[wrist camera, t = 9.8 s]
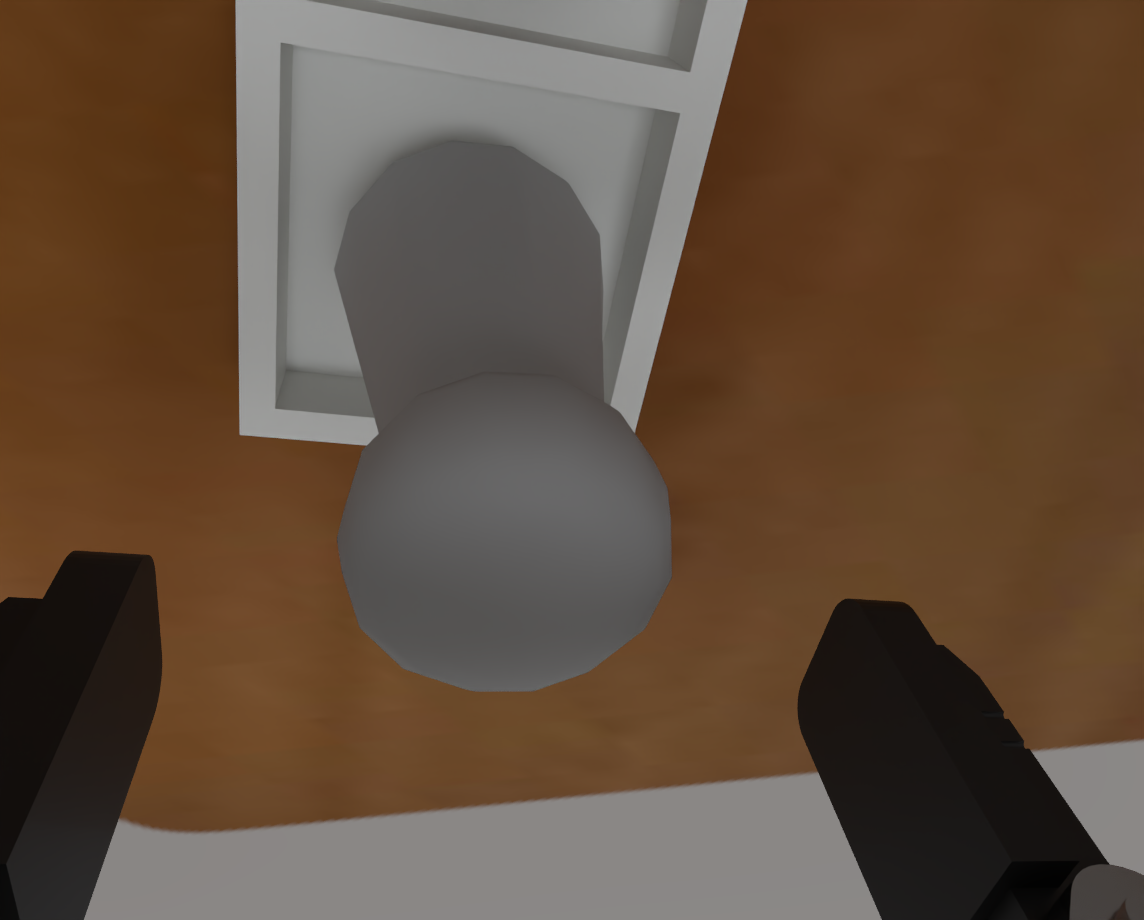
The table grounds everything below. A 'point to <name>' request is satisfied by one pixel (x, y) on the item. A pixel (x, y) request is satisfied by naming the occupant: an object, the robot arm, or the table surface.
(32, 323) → the table surface
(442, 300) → the salt shaker
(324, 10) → the caddy
